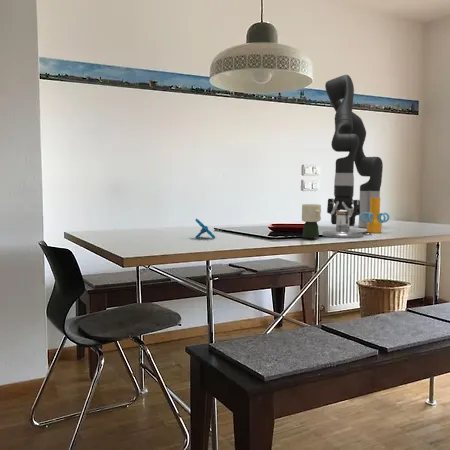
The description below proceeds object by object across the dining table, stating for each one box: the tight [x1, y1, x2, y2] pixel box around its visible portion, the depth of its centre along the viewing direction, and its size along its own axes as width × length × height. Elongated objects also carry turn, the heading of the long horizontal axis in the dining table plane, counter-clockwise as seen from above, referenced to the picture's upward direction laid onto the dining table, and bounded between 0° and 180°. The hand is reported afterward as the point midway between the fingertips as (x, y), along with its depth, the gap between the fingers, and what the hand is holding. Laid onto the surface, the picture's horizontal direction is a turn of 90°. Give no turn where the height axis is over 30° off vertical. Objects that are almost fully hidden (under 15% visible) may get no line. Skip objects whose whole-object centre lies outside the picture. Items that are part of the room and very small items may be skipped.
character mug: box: [301, 203, 322, 240], centre depth 187 cm, size 11×7×13 cm, turn 25°
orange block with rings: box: [360, 197, 390, 234], centre depth 212 cm, size 12×10×15 cm
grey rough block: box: [335, 210, 350, 232], centre depth 198 cm, size 6×6×8 cm
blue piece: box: [194, 218, 216, 239], centre depth 186 cm, size 11×6×10 cm
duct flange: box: [321, 230, 364, 239], centre depth 198 cm, size 16×16×2 cm
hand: (342, 225), depth 198 cm, fingers open, 8 cm apart
